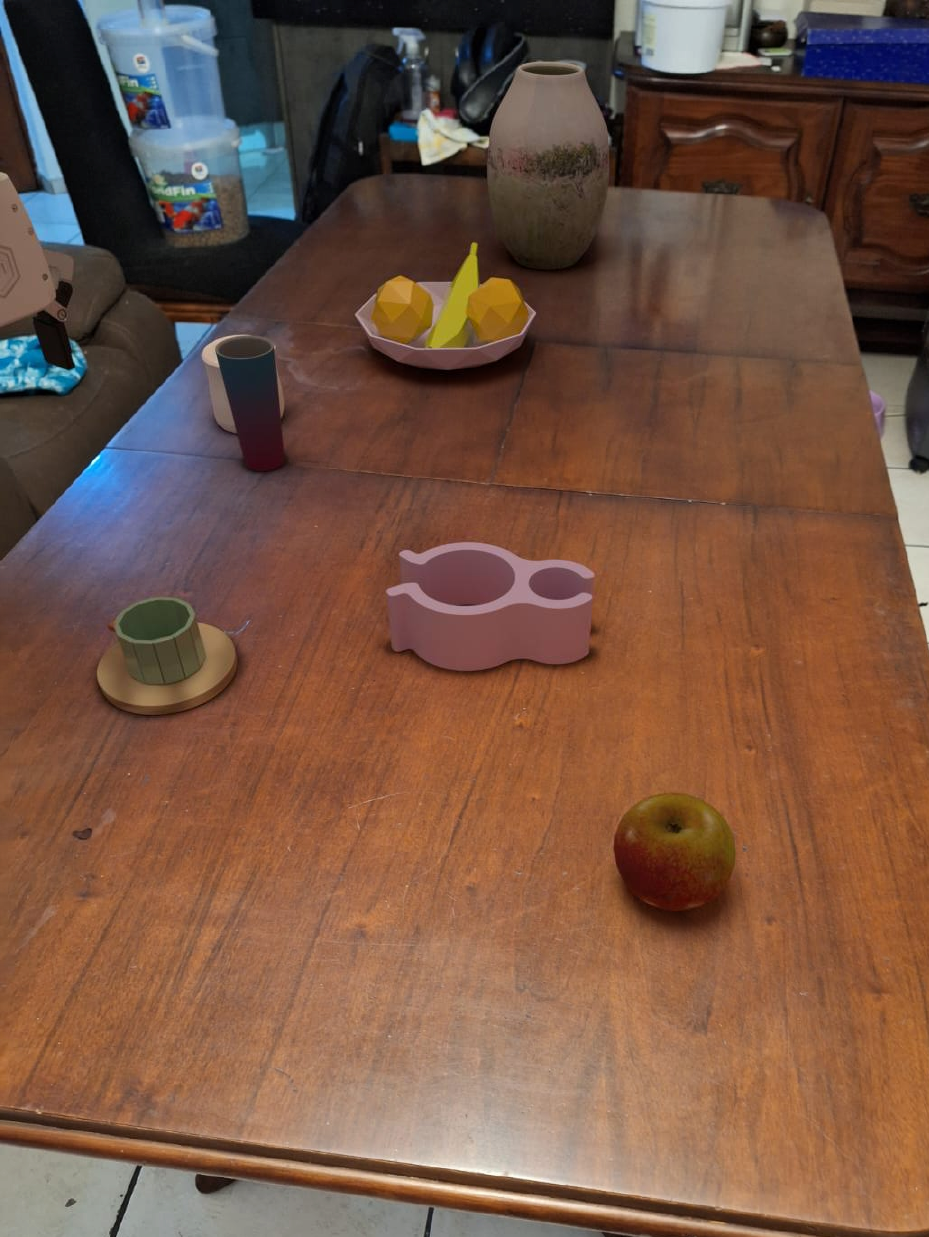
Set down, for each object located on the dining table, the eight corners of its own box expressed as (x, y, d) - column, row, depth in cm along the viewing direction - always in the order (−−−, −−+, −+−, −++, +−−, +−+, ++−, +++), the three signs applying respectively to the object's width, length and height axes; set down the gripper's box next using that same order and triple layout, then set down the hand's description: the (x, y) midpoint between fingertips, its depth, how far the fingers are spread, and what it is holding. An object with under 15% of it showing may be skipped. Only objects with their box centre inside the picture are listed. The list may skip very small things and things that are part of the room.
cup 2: (267, 480, 127) (246, 363, 117) (226, 465, 130) (202, 350, 120) (303, 457, 132) (285, 343, 122) (262, 443, 134) (242, 330, 124)
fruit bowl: (472, 405, 144) (470, 325, 136) (324, 359, 154) (314, 282, 146) (573, 338, 161) (576, 264, 154) (434, 301, 171) (430, 230, 164)
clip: (593, 605, 110) (596, 550, 105) (586, 680, 101) (589, 624, 96) (409, 592, 111) (404, 537, 106) (385, 665, 102) (379, 608, 97)
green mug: (220, 653, 100) (210, 612, 97) (164, 694, 96) (152, 652, 92) (149, 619, 104) (136, 579, 101) (92, 656, 100) (77, 615, 96)
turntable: (123, 733, 94) (120, 723, 93) (83, 657, 101) (80, 647, 101) (258, 684, 99) (255, 674, 98) (209, 615, 107) (207, 606, 106)
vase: (620, 250, 192) (634, 63, 171) (577, 287, 178) (585, 88, 157) (518, 232, 198) (519, 50, 178) (468, 267, 184) (462, 73, 163)
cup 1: (281, 398, 144) (270, 330, 137) (291, 431, 137) (280, 360, 130) (212, 406, 142) (197, 337, 135) (218, 440, 135) (203, 368, 128)
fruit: (589, 893, 81) (594, 827, 76) (641, 821, 87) (650, 755, 82) (698, 948, 78) (712, 882, 72) (745, 869, 84) (761, 803, 78)
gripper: (-143, 202, 68) (-48, 438, 80) (67, 146, 79) (124, 361, 91) (-208, 183, 71) (-107, 413, 83) (4, 131, 82) (66, 341, 94)
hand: (14, 385), depth 87 cm, fingers open, 9 cm apart
